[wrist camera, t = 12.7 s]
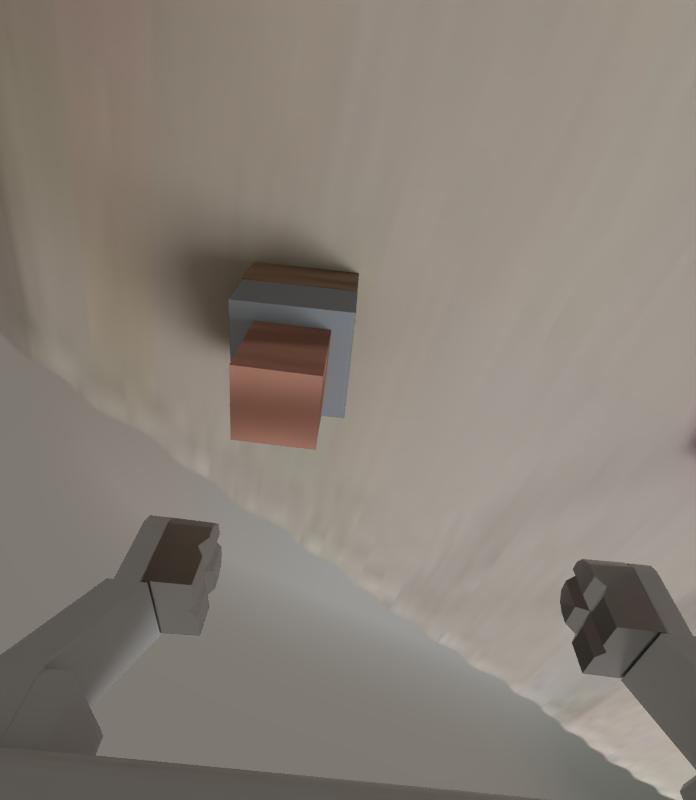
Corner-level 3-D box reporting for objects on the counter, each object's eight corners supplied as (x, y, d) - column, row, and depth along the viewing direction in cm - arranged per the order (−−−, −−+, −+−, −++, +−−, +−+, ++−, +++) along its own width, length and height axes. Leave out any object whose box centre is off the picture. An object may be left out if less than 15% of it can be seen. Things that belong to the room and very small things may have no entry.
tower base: (254, 261, 36) (242, 278, 33) (358, 272, 37) (357, 290, 33) (255, 354, 41) (245, 377, 37) (348, 364, 41) (346, 388, 37)
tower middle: (243, 279, 33) (228, 299, 30) (357, 291, 33) (355, 313, 30) (245, 378, 37) (232, 406, 34) (346, 389, 37) (344, 418, 34)
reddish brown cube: (253, 320, 30) (229, 364, 25) (331, 330, 30) (323, 376, 25) (252, 387, 33) (230, 439, 28) (324, 396, 33) (315, 449, 28)
